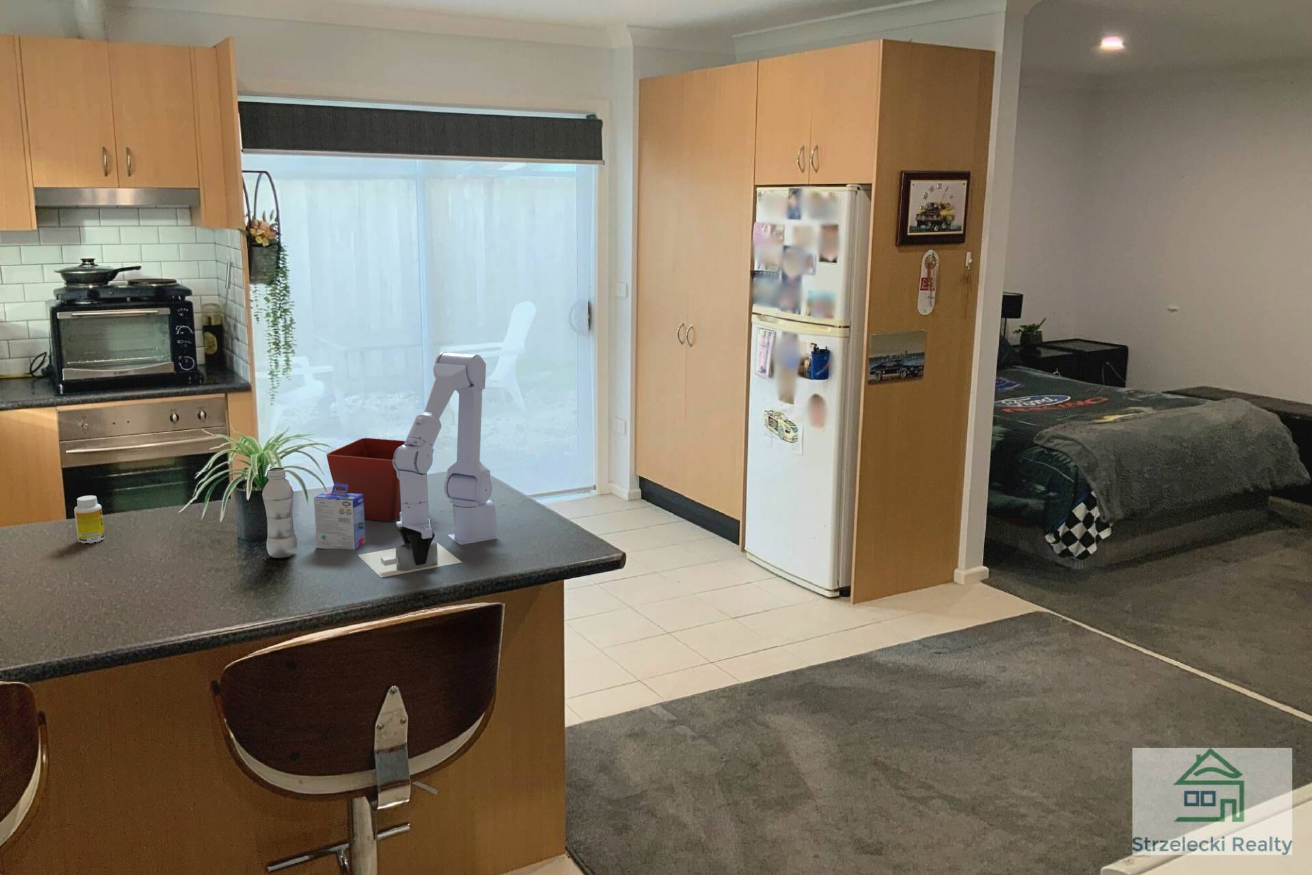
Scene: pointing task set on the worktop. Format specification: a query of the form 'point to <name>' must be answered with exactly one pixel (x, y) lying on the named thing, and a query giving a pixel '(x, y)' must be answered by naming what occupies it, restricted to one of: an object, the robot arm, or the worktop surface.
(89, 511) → the supplement bottle
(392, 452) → the plant pot
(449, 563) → the mat
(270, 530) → the plastic bottle
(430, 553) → the plug
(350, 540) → the ink cartridge box
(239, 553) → the worktop surface
